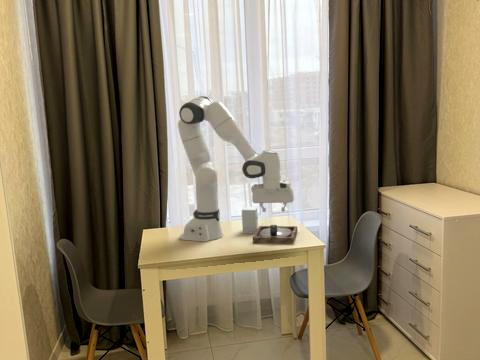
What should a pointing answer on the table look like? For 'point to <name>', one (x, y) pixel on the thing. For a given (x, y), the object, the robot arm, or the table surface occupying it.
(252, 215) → the supplement box
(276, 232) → the dial
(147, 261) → the table surface
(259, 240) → the dial housing
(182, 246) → the table surface
